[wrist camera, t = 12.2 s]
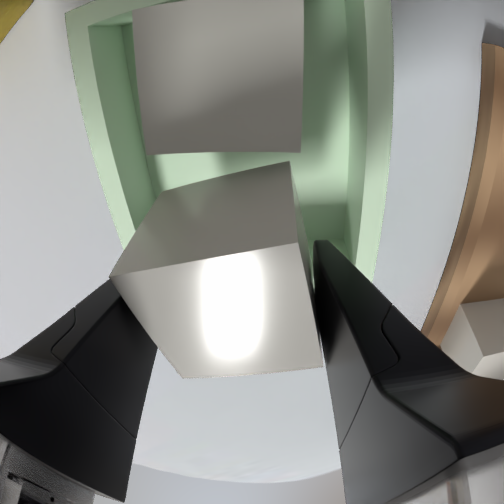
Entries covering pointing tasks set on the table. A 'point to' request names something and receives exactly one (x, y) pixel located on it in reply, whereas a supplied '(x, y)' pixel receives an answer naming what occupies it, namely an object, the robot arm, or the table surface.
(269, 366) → the white small cube
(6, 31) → the flower pot
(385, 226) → the table surface
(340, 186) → the green bin
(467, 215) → the walnut tray
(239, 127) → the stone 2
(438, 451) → the robot arm
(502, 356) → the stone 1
